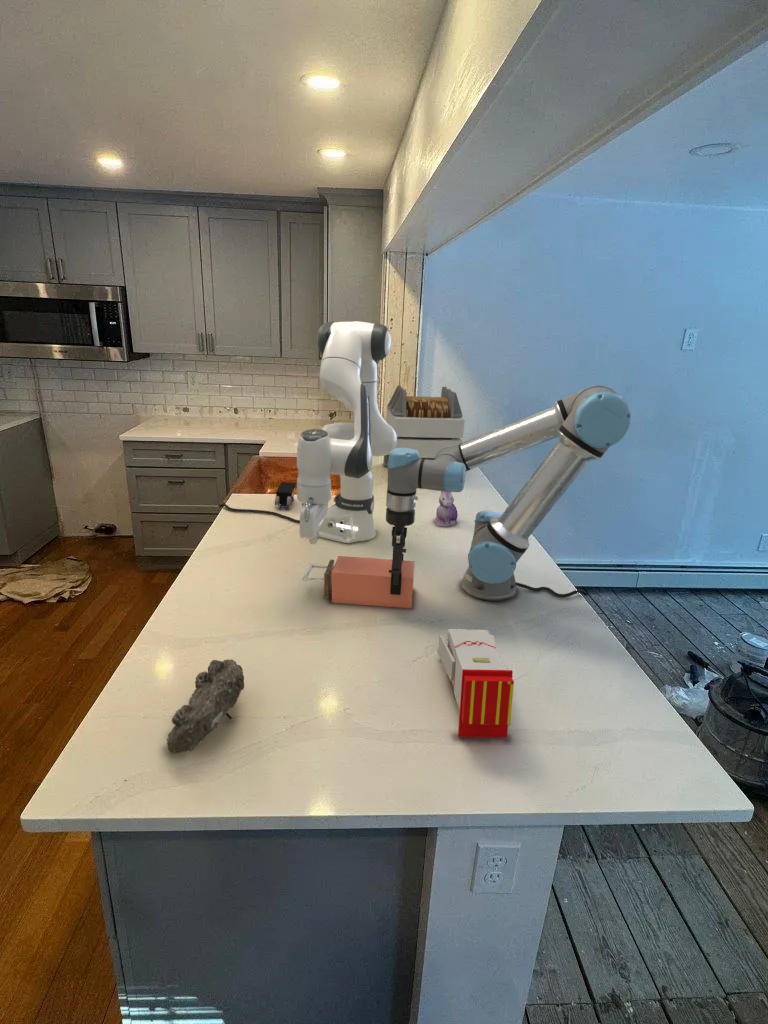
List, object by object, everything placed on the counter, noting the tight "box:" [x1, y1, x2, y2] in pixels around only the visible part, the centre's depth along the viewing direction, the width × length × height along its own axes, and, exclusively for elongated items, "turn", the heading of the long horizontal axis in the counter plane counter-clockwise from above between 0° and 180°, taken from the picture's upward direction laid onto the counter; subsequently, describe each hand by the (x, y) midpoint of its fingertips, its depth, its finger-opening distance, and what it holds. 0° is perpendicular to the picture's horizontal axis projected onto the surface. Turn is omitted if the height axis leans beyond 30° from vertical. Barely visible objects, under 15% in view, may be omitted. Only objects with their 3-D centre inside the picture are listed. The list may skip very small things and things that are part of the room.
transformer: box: [383, 384, 465, 468], centre depth 268 cm, size 34×33×41 cm
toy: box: [437, 628, 515, 738], centre depth 117 cm, size 12×13×30 cm
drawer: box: [301, 559, 335, 599], centre depth 155 cm, size 26×10×7 cm, turn 86°
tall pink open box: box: [331, 555, 415, 609], centre depth 155 cm, size 21×11×9 cm, turn 86°
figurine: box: [434, 491, 459, 527], centre depth 210 cm, size 9×10×15 cm
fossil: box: [166, 658, 245, 754], centre depth 106 cm, size 22×10×15 cm
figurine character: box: [274, 481, 297, 510], centre depth 222 cm, size 7×8×15 cm
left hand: (313, 542), depth 152 cm, fingers closed
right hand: (396, 584), depth 154 cm, fingers closed on tall pink open box, 11 cm apart
